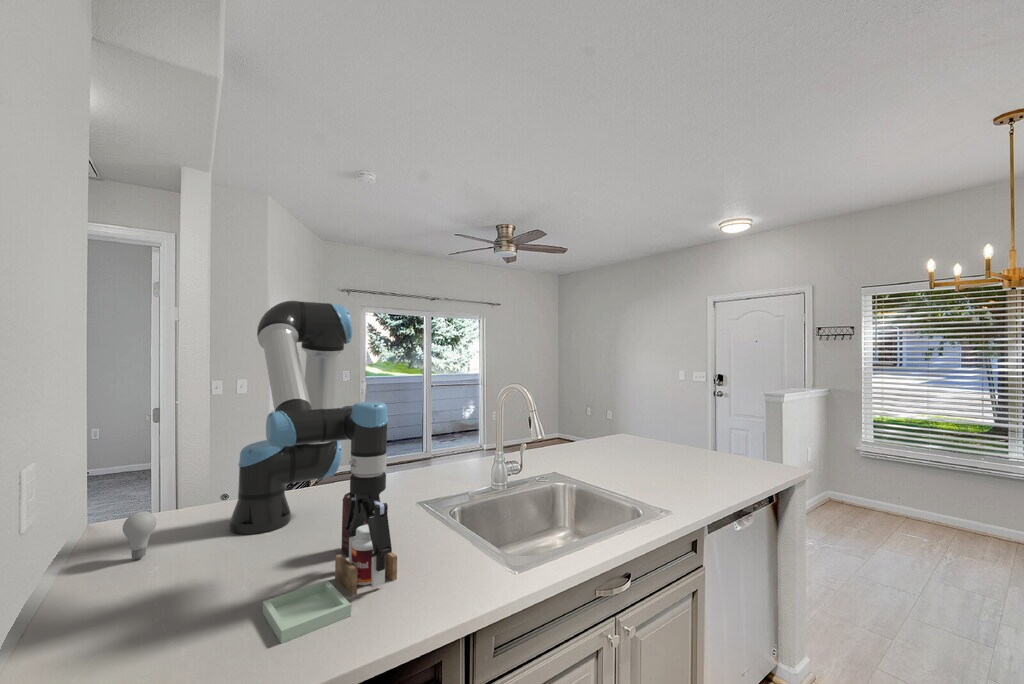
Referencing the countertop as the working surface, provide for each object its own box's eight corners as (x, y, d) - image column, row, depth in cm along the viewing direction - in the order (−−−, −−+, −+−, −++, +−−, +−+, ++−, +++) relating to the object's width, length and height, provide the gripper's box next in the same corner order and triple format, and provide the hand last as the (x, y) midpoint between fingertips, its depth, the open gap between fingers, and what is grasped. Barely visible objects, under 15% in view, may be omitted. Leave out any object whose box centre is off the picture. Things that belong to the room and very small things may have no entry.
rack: (334, 578, 96) (335, 555, 96) (377, 564, 103) (378, 542, 103) (352, 595, 89) (352, 570, 89) (396, 579, 96) (397, 556, 96)
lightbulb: (114, 562, 102) (116, 514, 102) (144, 551, 108) (146, 506, 108) (131, 567, 100) (133, 518, 100) (161, 555, 105) (163, 509, 106)
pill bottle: (344, 582, 94) (345, 531, 95) (364, 569, 100) (365, 521, 100) (367, 589, 92) (369, 535, 92) (386, 575, 98) (387, 525, 98)
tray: (262, 612, 83) (262, 601, 83) (326, 590, 91) (327, 579, 91) (281, 643, 74) (281, 631, 74) (350, 615, 82) (351, 604, 82)
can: (359, 557, 106) (361, 499, 106) (336, 554, 107) (337, 496, 108) (372, 546, 112) (374, 491, 112) (350, 544, 113) (351, 489, 114)
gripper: (331, 465, 103) (328, 560, 102) (376, 488, 86) (373, 603, 85) (362, 460, 108) (359, 551, 107) (410, 481, 91) (408, 589, 90)
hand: (366, 574), depth 96 cm, fingers open, 11 cm apart
